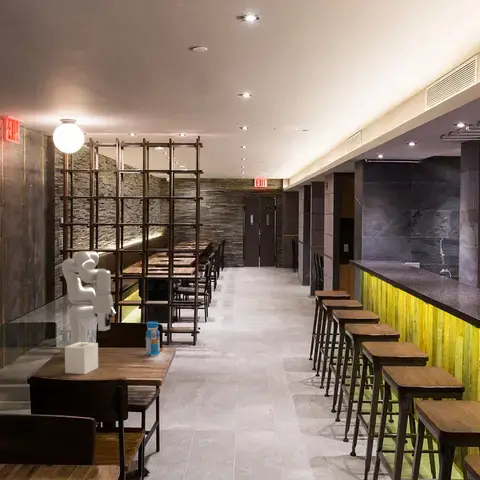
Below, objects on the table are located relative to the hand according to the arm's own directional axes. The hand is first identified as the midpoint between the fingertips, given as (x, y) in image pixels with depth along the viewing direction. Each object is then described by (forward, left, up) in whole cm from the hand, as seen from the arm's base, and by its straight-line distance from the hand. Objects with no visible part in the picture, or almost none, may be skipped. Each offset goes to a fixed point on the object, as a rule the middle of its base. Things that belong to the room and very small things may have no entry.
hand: (104, 325), depth 322 cm
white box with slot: (-12, -4, -25) cm, 28 cm away
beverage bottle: (+10, +40, -25) cm, 48 cm away
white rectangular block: (0, 0, -2) cm, 2 cm away
